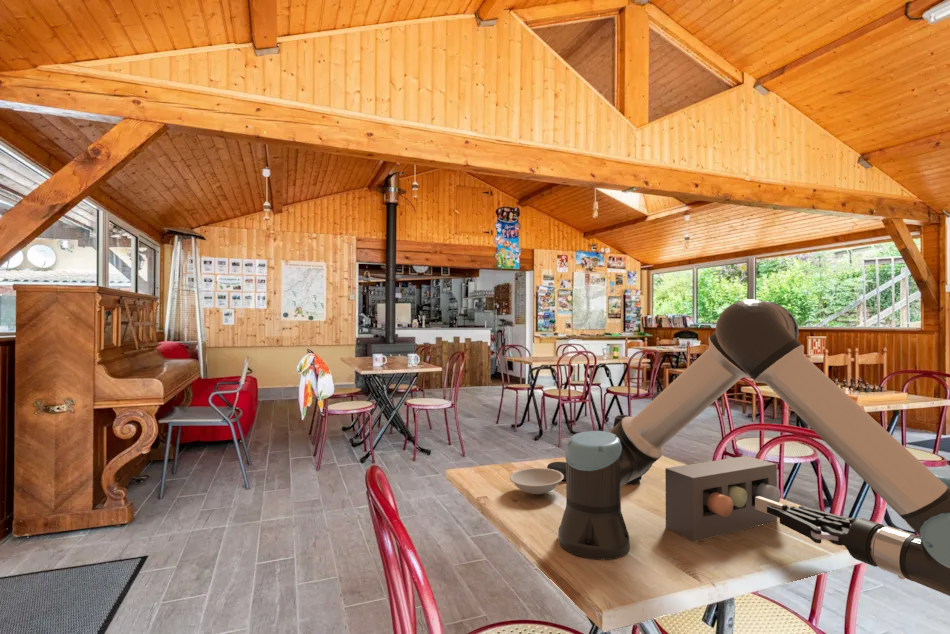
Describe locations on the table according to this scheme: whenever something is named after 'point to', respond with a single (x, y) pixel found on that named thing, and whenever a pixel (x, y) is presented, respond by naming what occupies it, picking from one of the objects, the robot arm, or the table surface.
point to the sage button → (737, 495)
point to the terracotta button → (718, 503)
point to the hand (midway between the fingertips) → (757, 502)
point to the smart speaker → (558, 467)
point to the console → (696, 479)
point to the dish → (536, 480)
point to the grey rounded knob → (766, 492)
